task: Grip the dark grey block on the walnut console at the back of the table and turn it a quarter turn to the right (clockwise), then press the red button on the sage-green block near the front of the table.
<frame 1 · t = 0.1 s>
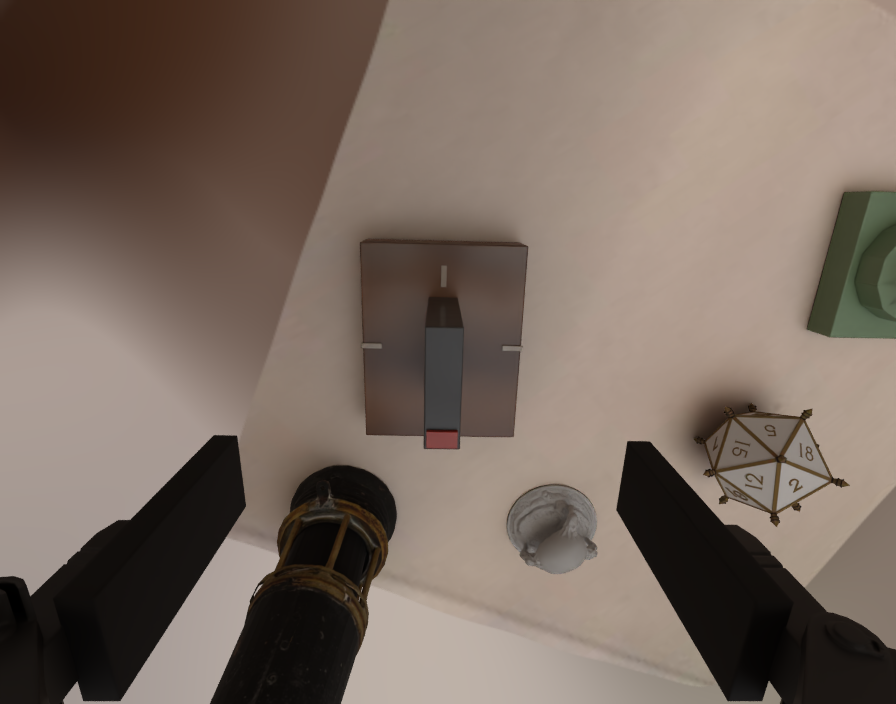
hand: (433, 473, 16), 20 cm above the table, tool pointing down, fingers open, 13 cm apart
lantern: (345, 510, 40), on the table
button block: (877, 265, 34), on the table
miniature: (551, 522, 40), on the table
console: (441, 335, 35), on the table
game die: (728, 433, 38), on the table
dark grey block: (442, 366, 28), point 7 cm above the table, hinge at 0.0°
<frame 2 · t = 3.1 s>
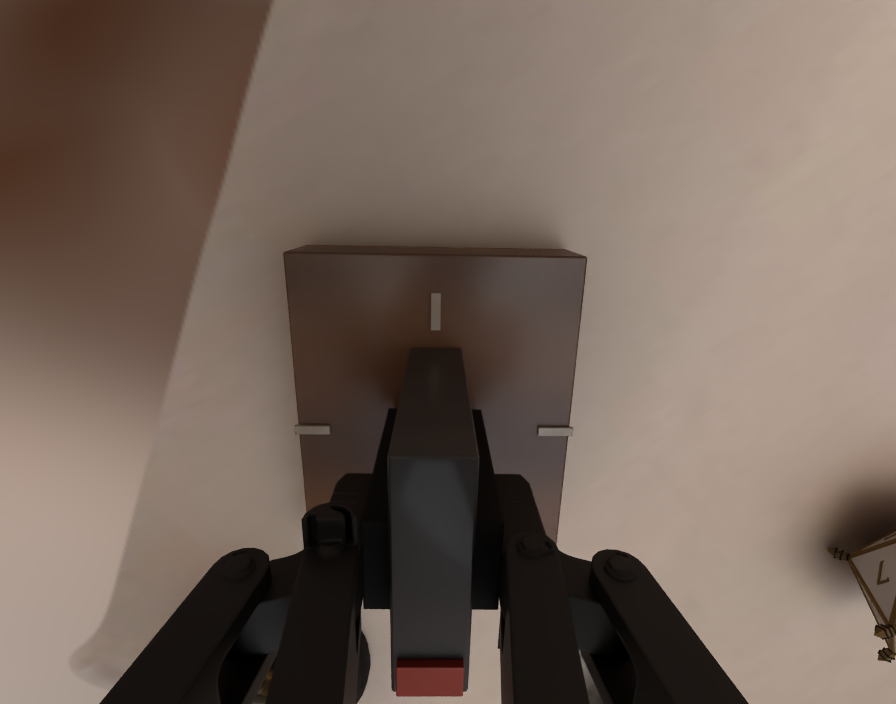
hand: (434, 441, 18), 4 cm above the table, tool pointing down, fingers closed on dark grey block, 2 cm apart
lantern: (293, 653, 26), on the table
miniature: (602, 665, 27), on the table
console: (435, 399, 21), on the table
game die: (880, 539, 25), on the table
dark grey block: (433, 490, 15), point 7 cm above the table, hinge at -0.4°, touching gripper
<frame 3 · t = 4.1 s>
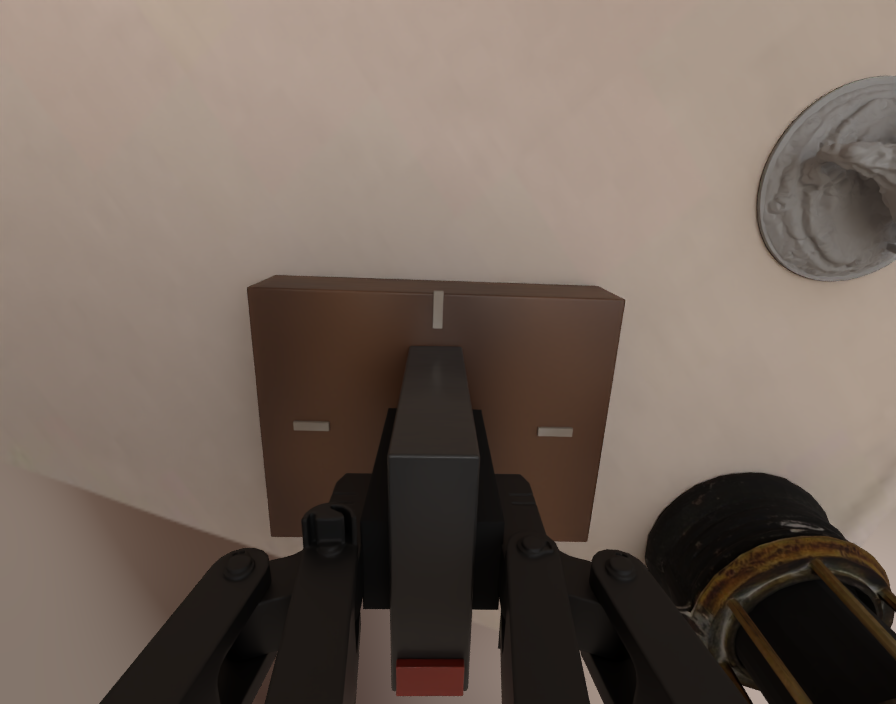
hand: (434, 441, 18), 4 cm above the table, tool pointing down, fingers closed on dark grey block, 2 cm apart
lantern: (729, 542, 24), on the table
miniature: (850, 185, 19), on the table
console: (434, 398, 21), on the table
dark grey block: (433, 488, 15), point 7 cm above the table, hinge at -89.3°, touching gripper
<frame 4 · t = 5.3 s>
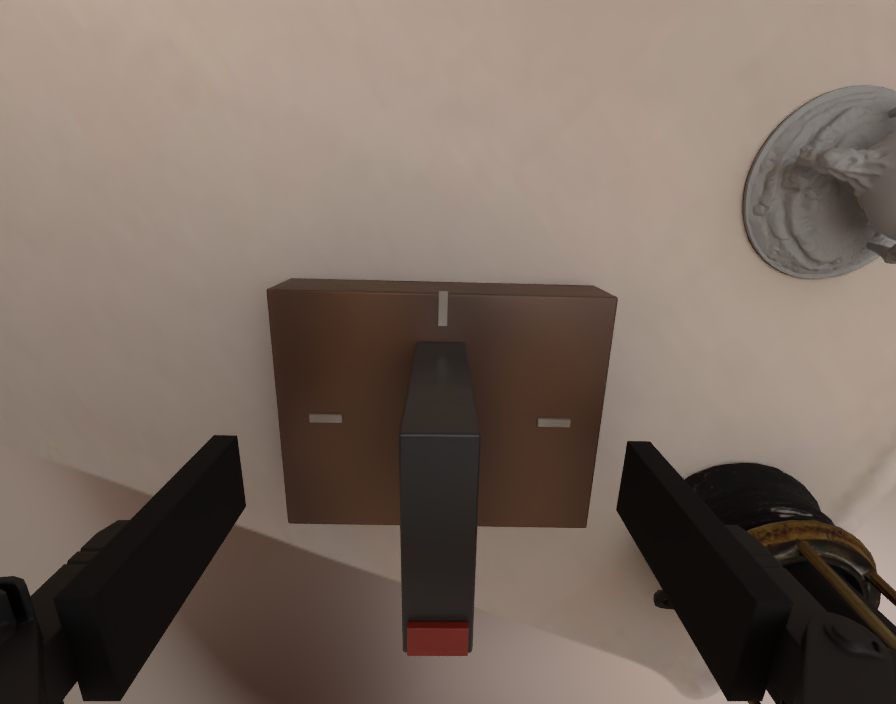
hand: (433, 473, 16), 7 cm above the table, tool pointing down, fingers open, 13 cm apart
lantern: (725, 530, 25), on the table
miniature: (832, 188, 20), on the table
console: (440, 392, 23), on the table
dark grey block: (439, 472, 16), point 7 cm above the table, hinge at -89.4°
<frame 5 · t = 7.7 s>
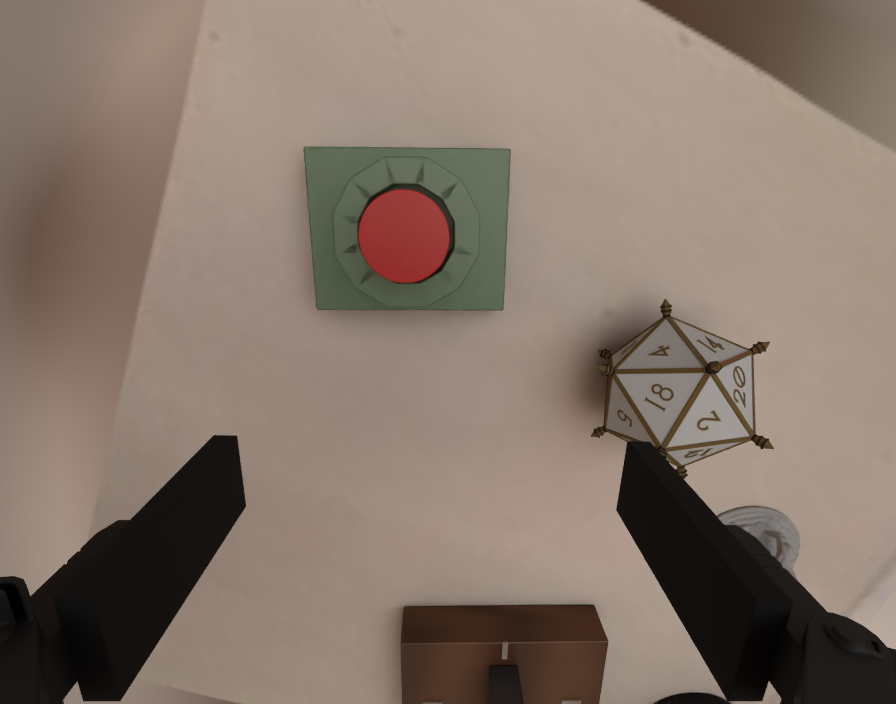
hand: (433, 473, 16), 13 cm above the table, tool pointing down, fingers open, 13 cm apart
button block: (411, 230, 25), on the table
miniature: (739, 551, 33), on the table
console: (496, 661, 35), on the table
game die: (640, 366, 28), on the table
button: (405, 236, 21), point 5 cm above the table, slide at 0.1 cm
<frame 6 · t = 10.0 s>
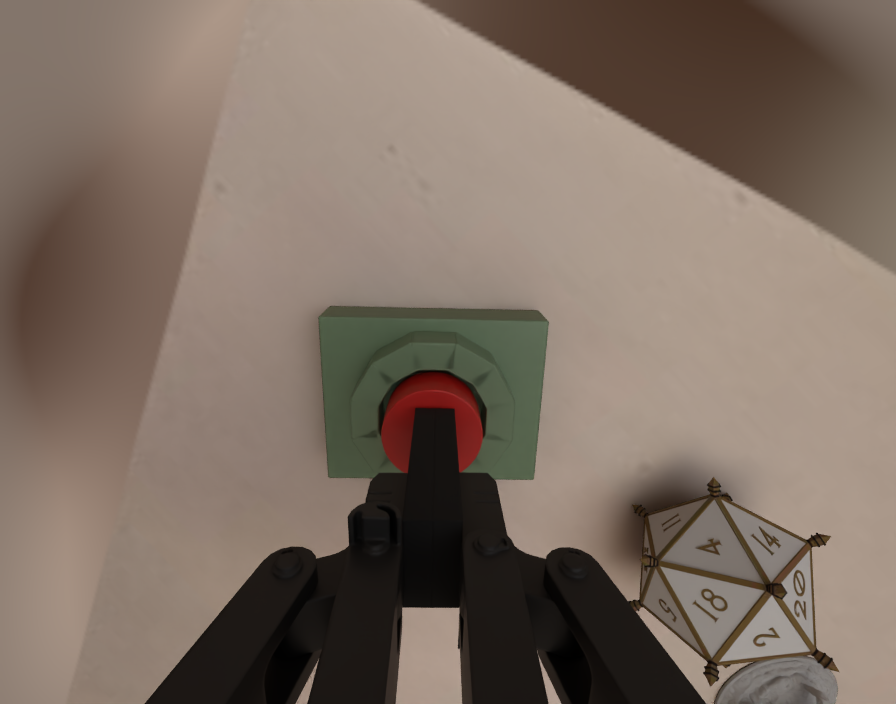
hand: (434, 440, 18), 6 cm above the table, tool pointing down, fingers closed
button block: (433, 385, 23), on the table
miniature: (772, 696, 31), on the table
game die: (676, 518, 26), on the table
button: (432, 425, 19), point 4 cm above the table, slide at -0.2 cm, touching gripper
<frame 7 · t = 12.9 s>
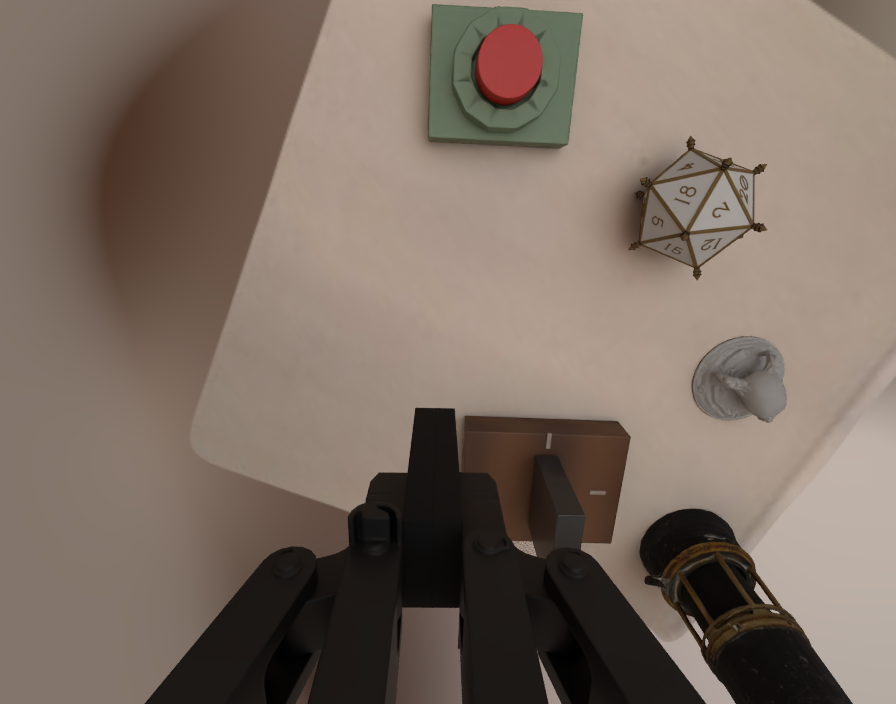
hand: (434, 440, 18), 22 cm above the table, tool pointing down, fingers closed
lantern: (684, 544, 46), on the table
button block: (499, 85, 33), on the table
miniature: (736, 378, 41), on the table
console: (535, 471, 43), on the table
game die: (666, 209, 36), on the table
button: (508, 66, 29), point 5 cm above the table, slide at 0.1 cm
dark grey block: (553, 521, 36), point 7 cm above the table, hinge at -89.4°
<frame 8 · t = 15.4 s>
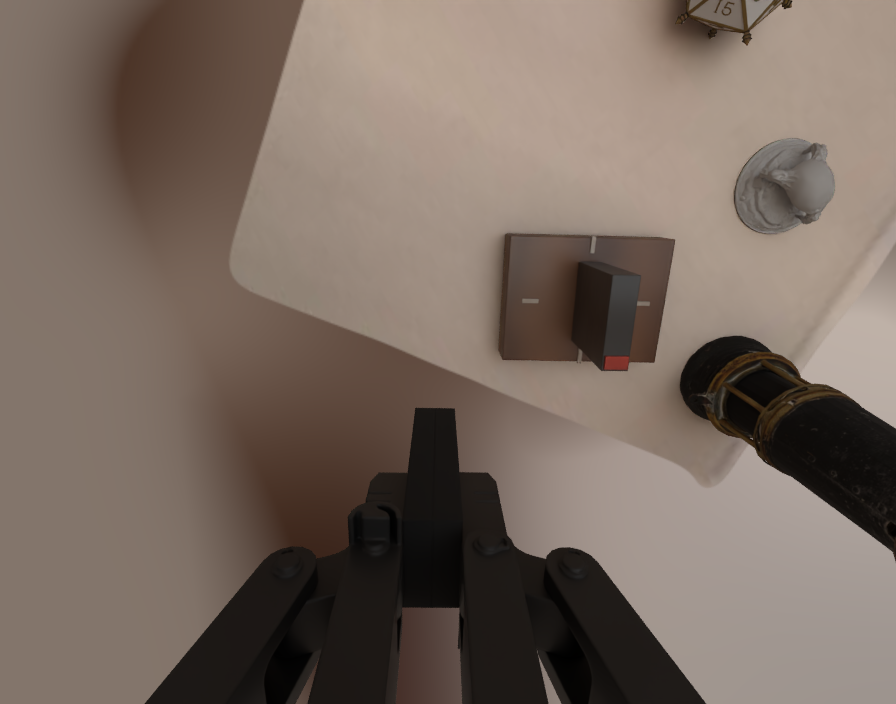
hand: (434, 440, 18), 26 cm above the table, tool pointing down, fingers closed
lantern: (724, 377, 46), on the table
miniature: (778, 187, 40), on the table
console: (576, 295, 43), on the table
dark grey block: (602, 312, 36), point 7 cm above the table, hinge at -89.4°
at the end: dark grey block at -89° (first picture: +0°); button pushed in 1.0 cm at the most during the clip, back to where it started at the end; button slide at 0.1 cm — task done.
